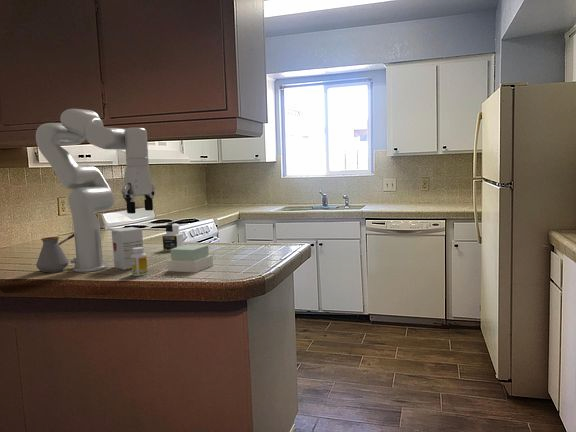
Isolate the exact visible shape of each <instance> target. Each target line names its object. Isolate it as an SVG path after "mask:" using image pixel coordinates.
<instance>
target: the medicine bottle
mask: <svg viewBox="0 0 576 432" xmlns="http://www.w3.org/2000/svg"><path fill="white" fill-rule="evenodd" d="M165 233H166V234H163V235H162V248H163V251H165V252H166V251H169V252H171V251H170V249H173V248H176V247H180V246H183V245H185V244H184V243H185V242H184V233H183V232H180V224H179V223H167V224H166V225H165Z"/></svg>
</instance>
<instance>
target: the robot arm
mask: <svg viewBox="0 0 576 432" xmlns="http://www.w3.org/2000/svg"><path fill="white" fill-rule="evenodd" d="M59 120H60V122H46V123H43V124H40V125H39V126H38V127H37V129H36V131H35V142H36V145H37V148H38V150H39V152H40V154H41V155H42V156H43V158H44V159H46V160H47V162H48V163H49V166H50V167H51V168H52V170H53V173H54V174H55V175H56V177H57V179H58V180H59V182H60V184H61V185H62V186H63V188H65V189H66V190H70V193H69V194H68V198H67V202H68V206H69V209H70V213H71V217H72V218H71V219H72V227H73V234H74V237H73V238H74V246H75V247H74V248H75V257H73V258H72V259H71V260H70V261H69V262H70V264H74V266H72V271H73V272H75V273H85V272H86V273H88V272H96V271H101V270H104V269H107V268H108V267H109V266H108V263H105V262H104V258H103V247H102V235H101V224H100V223H101V222H100V220H99V218H98V217H97V215H96V213H95V212H98V211H99V212H100V211H106V210H109V209H111V208H112V207H113V206H114V204H115V195H114V192H113V190H112V189H111V187H110V184H108V182H107V181H106V179H105V177H104V176H103V174H102V172H101V170H100V169H98V168H97V167H96V166H94V165H91V164H78V163H77V162H76V161H75V159H74V158H73V156H72V154H71V153H70V152H69V151H68V150H66V149H64V148H63V147H62V146H76V145H77V146H78V145H80V144H82V143H83V142H85V141H87V143H89V144H90V145H93V146H94V147H97V148H100V149H103V150H120V151H121V150H124V151H125V161H126V163H125V165H126V167H125V169H124V173H123V175H124V176H123V179H124V180H123V188H122V189H121V191H120V193H121V195H122V198H123V199H124V202H125V204H126V213H127V214H136V201H135V199H136V197H140V196H143V197H144V200H143V201H144V204H143V205H144V211H153V210H154V205H153V204H154V202H153V200H154V196H155V195H156V194H155V191H156V186H155V185H153V182H152V175H151V169H150V163H149V149H148V147H149V146H148V132H147V130H146V128H144V127H128V128H124V127H123V128H121V127H107V126H106V127H105V126H104V123H103V120H102V119H101V118H100V116H99V114H98V113H97V112H96V111H94V110H92V109H91V110H90V109H84V108H83V109H81V108H68V109H66V110H64V111H63V112H62V113H61V114H60V119H59Z"/></svg>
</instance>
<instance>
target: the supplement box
mask: <svg viewBox="0 0 576 432" xmlns="http://www.w3.org/2000/svg"><path fill="white" fill-rule="evenodd" d="M143 237H144V236H143V228H140V227H135V226H130V227H122V228H113V229H111V240H112V250H113V251H112V253H113V264H114V268H118V269H120V270H123V271H124V270H130V269H131V270H132V264H131V255H132V254H133V251H132V249H133V248H136V247H144V239H143Z"/></svg>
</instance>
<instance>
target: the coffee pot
mask: <svg viewBox="0 0 576 432" xmlns="http://www.w3.org/2000/svg"><path fill="white" fill-rule="evenodd" d="M72 238H74V233H73V234H71V235H69V236H68V237H67V238H65V239H64V240H61V241H59V239H60V236H51V237H50V236H49V237H43V238H41V239H40V240H41V241H42V243H43V244H42V247H41V250H40V253H39V256H38V258H37V261H36V264H35V266H36V268H37V269H38V270H39V271H40V272H42V273H43V272H52V273H57V272H56V271H59V272H62V271H64V270H65V269H66V268H67V266H68V265H69V262H70V261H69V260H68V257H67V256H66V254H65V252H64V251H63V249H62V246H61V245H62V244H64V243H66V242H67V241H68V240H69V241H70V239H72ZM63 269H64V270H63ZM61 270H62V271H61Z"/></svg>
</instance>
